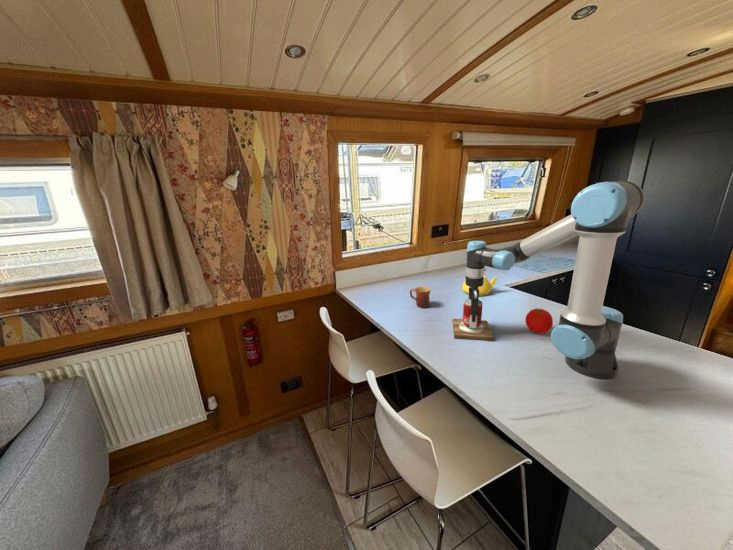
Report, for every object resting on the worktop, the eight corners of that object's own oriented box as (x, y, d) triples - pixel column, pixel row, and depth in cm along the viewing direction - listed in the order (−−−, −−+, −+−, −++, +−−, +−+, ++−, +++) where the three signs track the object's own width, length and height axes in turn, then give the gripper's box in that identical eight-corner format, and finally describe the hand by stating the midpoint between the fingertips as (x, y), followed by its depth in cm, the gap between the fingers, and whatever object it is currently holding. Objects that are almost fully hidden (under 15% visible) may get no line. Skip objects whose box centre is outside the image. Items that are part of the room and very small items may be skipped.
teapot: (463, 296, 173) (464, 276, 170) (460, 286, 191) (461, 267, 187) (498, 298, 169) (500, 277, 165) (493, 287, 186) (494, 268, 182)
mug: (432, 304, 165) (432, 287, 162) (428, 310, 158) (428, 292, 154) (412, 301, 170) (412, 285, 167) (407, 306, 163) (407, 290, 160)
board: (492, 341, 124) (493, 336, 123) (454, 338, 128) (454, 333, 127) (486, 324, 139) (487, 319, 138) (452, 322, 142) (452, 318, 142)
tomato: (550, 328, 132) (554, 307, 128) (551, 339, 123) (554, 316, 120) (524, 324, 137) (527, 303, 134) (523, 333, 128) (526, 312, 125)
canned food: (482, 328, 127) (484, 305, 124) (463, 327, 129) (464, 304, 126) (479, 320, 135) (481, 298, 131) (461, 319, 136) (462, 298, 133)
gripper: (487, 284, 115) (483, 334, 121) (480, 269, 134) (477, 314, 140) (468, 283, 116) (465, 333, 123) (463, 269, 135) (461, 313, 142)
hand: (471, 323), depth 132 cm, fingers closed on canned food, 8 cm apart
